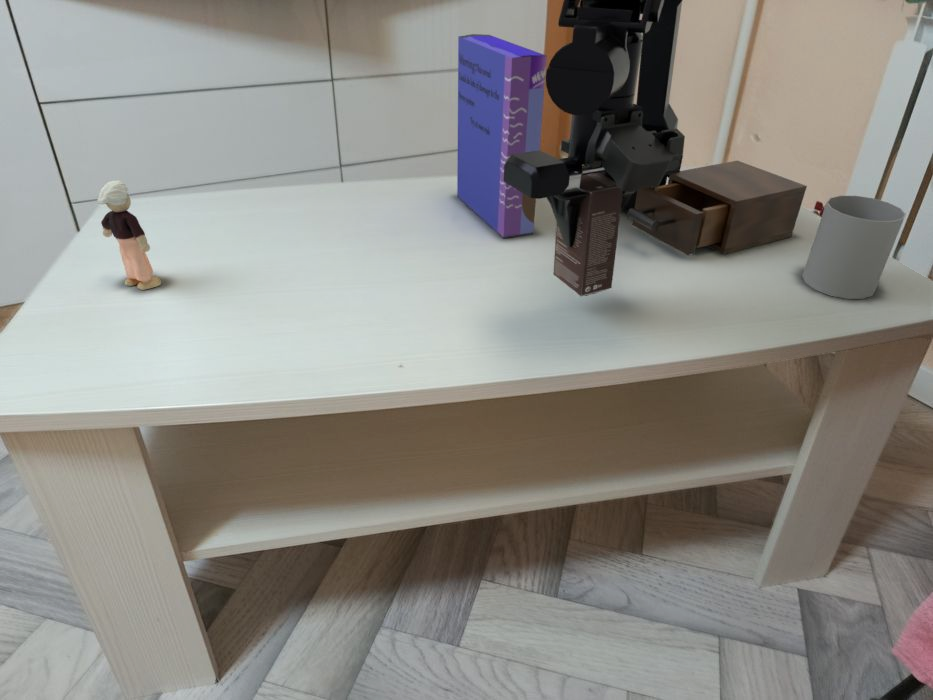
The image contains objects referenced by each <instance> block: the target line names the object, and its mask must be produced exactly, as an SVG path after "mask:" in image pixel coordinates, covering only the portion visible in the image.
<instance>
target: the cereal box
mask: <svg viewBox="0 0 933 700" xmlns="http://www.w3.org/2000/svg"><path fill="white" fill-rule="evenodd" d="M457 37H458V42H457V46H458V49H457V51H458V53H457V69H458V70H457V167H456V168H457V170H456V171H457V172H456V175H457V176H456V177H457V178H456V179H457V183H456V185H457V189H456V190H457V191H456V193H457V195H456V197H457V199H459V200H460V201H461V202H462V203H463V204H464V205H465V206H466V207H468V208H469V210H471V211H472V212H473V213H474V214H475V215H476V216H478V218H480V219H481V220H482V221H483V222H484V223H485V224H486V225H487V226H488V227H490V228H491V229H492V230H493V231H494V232H495V233H496V234H497V235H499V236H500V237H501V238H502V239H510V238H517V237H522V236H528V235H533V234H534V229H535V215H536V203H537V199H536V198H530V197H528V196H527V195H525V194H523V193H522V192H520V191H519V190H517V189H515V188H514V187H512V186H510V185H509V184H507V183H505V182H504V181H503V180H504V165H505V163H506V161H507V159H508V158H509V157H510V156H511V154H518V153H524V152H531V151H537V150H540V149H541V138H542V137H541V135H542V122H543V121H542V120H543V110H544V96H545V85H546V71H547V55H546V54H543V53H540V52H538V51H535V50H532V49H529V48H527V47H524V46H522V45H519V44H516V43H513V42H510V41H507V40H505V39H502V38H500V37H497V36H493V35H491V34H479V33H477V34H475V33H472V34H465V35H459V36H457Z"/></svg>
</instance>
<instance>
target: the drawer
mask: <svg viewBox="0 0 933 700" xmlns="http://www.w3.org/2000/svg"><path fill="white" fill-rule="evenodd" d="M730 208H731V205H730V204H727V203H725V202H723V201H721V200H718V199H716V198H714V197H711V196H709V195H707V194H704V193H702V192H700V191H698V190H695V189H693V188H691V187H688V186H686V185H684V184H681V183H679V182H678V183H673V184H668V183H667V184H666V185H662V186H658V187H656V188H655V190H653V189H651V188H649V187H648V188H642V189H639V190H638V191H637V197H636V203H635V209H634V208H631V209H629V211H628V213H626V216H627V218H628V219H631V220H632V221H631V226H633V227H635V228H637V229H638V230H640V231H642V232H644V233H645V234H648V235H649V236H651V237H653V238H654V239H656V240H659V241H660V242H662V243H664V244H665V245H668V246H669V247H671V248H673V249H674V250H675V249H676V250H677V251H679V252H680V253H683V254H684V255H686V256H691V255H695V253H696V248H703V247H708V246H707V245H711V244H715V243H719V242H722V240H723V236H724V232H725V228H726V224H727V220H728V216H729V212H730Z"/></svg>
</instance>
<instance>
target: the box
mask: <svg viewBox="0 0 933 700" xmlns="http://www.w3.org/2000/svg"><path fill="white" fill-rule="evenodd" d="M580 189H582V190H584V191H586V192H588V193H589V194H588V195H587V196H586V197H585V198H584V200H583V201H582V202H581V203H580V205H579V212H578V220H577V228H576V236H575V240H574V244H573V246H572V247H568V246H567V245H565V243H564V241H563V238H562V235H561V233H560V230H559V227H558V224H557V223H556V229H555V241H554V243H555V244H554V245H555V246H554V260H553V273H552V274H553V276H555V277H556V278H557V279H559V280H560V281H561V282H562V283H564V284H565V285H566V286H567V287H568V288H570V289H571V290H572V291H573V292H575V293H576V294H577V295H579V296H580V297H588V296H591V295H595V294H598V293H601V292H604V291H606V290H609V289H611V288H612V285H613V280H614V279H613V278H614V270H615V269H614V268H615V263H616V262H615V261H616V253H617V244H618V235H619V227H620V219H621V214H620V211H621V202H622V194H623V190H621V189H620V188H619V187H618V186H617V185H616V182H615V181H613V180H611V179H609V178H607V177H605V176H604V175H601V174H600V173H593V174H587V175H582V176H581V184H580ZM621 212H622V211H621Z"/></svg>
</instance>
